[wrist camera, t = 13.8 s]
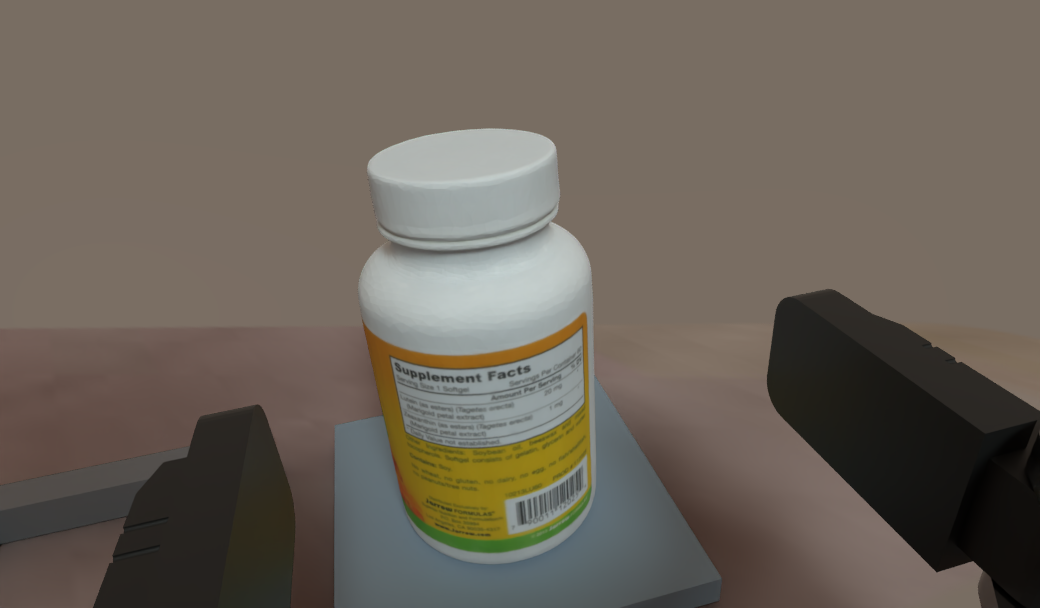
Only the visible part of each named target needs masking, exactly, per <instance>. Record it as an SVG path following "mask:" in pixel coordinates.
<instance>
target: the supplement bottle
mask: <svg viewBox="0 0 1040 608" xmlns="http://www.w3.org/2000/svg"><path fill="white" fill-rule="evenodd" d="M367 175H368V181H369V186H370V192H371V198H372V203H373V208H374V212H375V216H376V219H377V228H378V230H379V232H380V233H381V234H382V235H383V236H384V237H385V238H386V239H388V241H387V242H385V243H384V244H383V245H381V246H380V247H379V248H378V249H377V250H376V251H375V252H374V253H373V254H372V255H371V257H370V258H369V259H368V261H367V262H366V264H365V266H364V267H363V270H362V272H361V275H360V278H359V285H358V298H359V305H360V310H361V316H362V321H363V326H364V331H365V335H366V340H367V344H368V349H369V353H370V358H371V362H372V367H373V371H374V376H375V380H376V385H377V389H378V394H379V398H380V403H381V407H382V412H383V416H384V421H385V425H386V430H387V434H388V439H389V444H390V448H391V453H392V458H393V462H394V466H395V470H396V475H397V479H398V484H399V488H400V493H401V497H402V500H403V504H404V508H405V511H406V514H407V517H408V519H409V521H410V523H411V525H412V526H413V528H414V530H415V531H416V532H417V534H418V535H419V536H420V537H421V538H422V539H423V540H424V541H425V542H426V543H427V544H428V545H430V546H431V547H433V548H434V549H436V550H437V551H439V552H441V553H443V554H445V555H447V556H449V557H452V558H455V559H458V560H461V561H465V562H470V563H477V564H492V565H493V564H505V563H512V562H517V561H521V560H525V559H529V558H532V557H535V556H538V555H540V554H543V553H545V552H547V551H549V550H551V549H552V548H554V547H556V546H558V545H559V544H560V543H562V542H563V541H565V540H566V539H567V538H568V537H569V536H571V535H572V534H573V533H574V532H575V531H576V530H577V529H578V528H579V526H580V525H581V524H582V522H583V521H584V519H585V518H586V516H587V514H588V512H589V510H590V508H591V506H592V502H593V499H594V496H595V489H596V431H595V389H594V340H593V292H592V276H591V268H590V263H589V259H588V257H587V254H586V252H585V251H584V249H583V247H582V246H581V244H580V243H579V242H578V240H577V239H576V238H575V237H574V236H573V235H572V234H571V233H569V232H568V231H566V230H565V229H564V228H562V227H560V226H559V225H557V224H555V223H552V222H550V221H552V219H554V217H555V216H556V214H557V212H558V202H559V199H560V188H559V181H558V165H557V151H556V148H555V145H554V144H553V142H552V141H551V140H549V139H548V138H546V137H545V136H542V135H539V134H536V133H532V132H528V131H520V130H510V129H473V130H460V131H451V132H445V133H438V134H433V135H426V136H422V137H418V138H414V139H411V140H407V141H404V142H402V143H399V144H396V145H393V146H391V147H389V148H387V149H385V150H382V151H381V152H379V153H377V154H376V155H375V156H374V157H373V158H372V159H371V160H370V161H369V163H368V167H367Z"/></svg>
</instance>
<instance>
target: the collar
mask: <svg viewBox="0 0 1040 608" xmlns="http://www.w3.org/2000/svg"><path fill="white" fill-rule="evenodd" d="M189 448H190V446H188V447H183V448H178V449H174V450H169V451H164V452H159V453H154V454H149V455H145V456H140V457H135V458H130V459H125V460H120V461H116V462H111V463H106V464H101V465H96V466H91V467H87V468H82V469H77V470H72V471H67V472H62V473H58V474H53V475H48V476H43V477H38V478H33V479H29V480H24V481H19V482H14V483H9V484H4V485H0V545H1V544H3V543H8V542H12V541H17V540H21V539H26V538H30V537H35V536H39V535H44V534H48V533H53V532H57V531H62V530H66V529H71V528H75V527H80V526H85V525H89V524H94V523H98V522H103V521H107V520H112V519H116V518H121V517H125V516H128V513H129V511H130V508H131V505H132V503H133V500H134V497H135V495H136V493H137V492H138V491H139V490H140V488H141V487H142V486H143V485H144V484H145V483H146V482H147V480H148V479H149V478H150V477H151V476H152V475H153V473H154V472H155V471H156V470H157V469H158V468H159V467H160V465H161V464H162V463H163V462H166V461H171V460H176V459H180V458H185V457H187V455H188V451H189Z"/></svg>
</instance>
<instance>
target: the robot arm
mask: <svg viewBox="0 0 1040 608" xmlns="http://www.w3.org/2000/svg"><path fill="white" fill-rule="evenodd" d="M767 387H768V392H769V396H770V399H771V401H772V403H773V406H774V407H775V409H776V411H777V412H778V413H779V414H780V416H781V417H782V418H783V419H784V420H785V421H786V422H787V423H788V424H789V425H790V426H791V427H792V428H793V429H794V430H795V431H796V432H797V433H798V434H799V435H800V436H801V437H802V438H803V439H804V440H805V441H806V442H807V443H808V444H809V445H810V446H811V447H812V448H813V449H814V450H815V451H816V452H817V453H818V454H819V455H820V456H821V457H822V458H823V459H824V460H825V461H826V462H827V463H828V464H829V465H830V466H831V467H832V468H833V469H834V470H835V471H836V472H837V473H838V474H839V475H840V476H841V477H842V478H843V479H844V480H845V481H846V482H847V483H848V484H849V485H850V486H851V487H852V488H853V489H854V490H855V491H856V492H857V493H858V494H859V495H860V496H861V497H862V498H863V499H864V500H865V501H866V502H867V503H868V504H869V505H870V506H871V507H872V508H873V509H874V510H875V511H876V512H877V513H878V514H879V515H880V516H881V517H882V518H883V519H884V520H885V521H886V522H887V523H888V524H889V525H890V526H891V527H892V528H893V529H894V530H895V531H896V532H897V533H898V534H899V535H900V536H901V537H902V538H903V539H904V540H905V541H906V542H907V543H908V544H909V545H910V546H911V547H912V548H913V549H914V550H915V551H916V552H917V553H918V554H919V555H920V556H921V557H922V558H923V559H924V560H925V561H926V562H927V563H928V564H929V565H930V566H931V567H932V568H933V569H934V570H935V571H936V572H939V571H942V570H946V569H949V568H952V567H955V566H959V565H962V564H965V563H968V562H972V561H974V562H975V563H976V564H977V565H978V566H979V567H980V568H981V569H982V570H983V572H982V575H981V577H980V580H979V583H978V594H979V599H980V603H981V608H1040V411H1039V410H1037V409H1036V408H1034V407H1032V406H1031V405H1029V404H1028V403H1026V402H1024V401H1023V400H1021V399H1020V398H1018V397H1016V396H1015V395H1013V394H1012V393H1010V392H1009V391H1007V390H1005V389H1004V388H1002V387H1001V386H999V385H997V384H996V383H994V382H993V381H991V380H989V379H988V378H986V377H985V376H983V375H981V374H980V373H978V372H977V371H975V370H973V369H972V368H970V367H969V366H967V365H965V364H964V363H962V362H959V363H957V362H956V361H955V358H954V357H953V356H951V355H950V354H948V353H946V352H945V351H943V350H942V349H940V348H938V347H934V348H933V347H932V345H931V343H930V342H929V341H927V340H926V339H924V338H922V337H921V336H919V335H918V334H916V333H915V332H913V331H911V330H910V329H908V328H907V327H905V326H903V325H901V324H898V323H896V322H893V321H890V320H887V319H885V318H882V317H879V316H876V315H874V314H871V313H870V312H868V311H867V310H865V309H864V308H862V307H861V306H859V305H858V304H856V303H854V302H853V301H851V300H850V299H848V298H847V297H845V296H844V295H842V294H840V293H839V292H837V291H835V290H832V289H826V290H821V291H816V292H811V293H806V294H801V295H797V296H792V297H787V298H784V299H783V300H782V301H781V302H780V303H779V304H778V307H777V309H776V314H775V321H774V329H773V336H772V344H771V351H770V359H769V366H768V374H767ZM123 528H124V533H123V534H121V535H120V537H119V540H118V542H117V545H116V548H115V550H114V553H113V563H110V564H109V566H108V569H107V572H106V574H105V577H104V580H103V582H102V585H101V588H100V590H99V593H98V596H97V598H96V601H95V604H94V606H93V608H290V600H291V586H292V571H293V557H294V542H295V513H294V505H293V499H292V494H291V490H290V487H289V483H288V480H287V477H286V474H285V471H284V468H283V465H282V462H281V459H280V456H279V454H278V451H277V448H276V445H275V442H274V439H273V436H272V433H271V430H270V427H269V424H268V421H267V418H266V415H265V413H264V411H263V409H262V408H261V406H260V405H253V406H248V407H243V408H238V409H234V410H229V411H224V412H219V413H214V414H209V415H204V416H201V417H200V418H199V420H198V422H197V425H196V428H195V431H194V435H193V438H192V441H191V445H190V448H189V451H188V455H187V457H185V458H180V459H176V460H171V461H166V462H163V463H162V464H161V465H160V467H159V468H158V469H157V470H156V471H155V472H154V473H153V475H152V476H151V477H150V478H149V479H148V480H147V482H146V483H145V484H144V485H143V486H142V487H141V488H140V490H139V491H138V492H137V493H136V495H135V497H134V500H133V503H132V505H131V508H130V511H129V513H128V516H127V519H126V521H125V524H124V527H123Z"/></svg>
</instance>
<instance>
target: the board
mask: <svg viewBox="0 0 1040 608" xmlns="http://www.w3.org/2000/svg"><path fill="white" fill-rule="evenodd" d="M594 389H595V431H596V489H595V496H594V499H593V502H592V506H591V508H590V510H589V512H588V514H587V516H586V518H585V519H584V521H583V522H582V524H581V525H580V526H579V528H578V529H577V530H576V531H575V532H574V533H573V534H572V535H571V536H569V537H568V538H567V539H566V540H565V541H563V542H562V543H560V544H559V545H558V546H556V547H554V548H552V549H551V550H549V551H547V552H545V553H543V554H540V555H538V556H535V557H532V558H529V559H525V560H521V561H517V562H512V563H505V564H493V565H492V564H477V563H470V562H465V561H461V560H458V559H455V558H452V557H449V556H447V555H445V554H443V553H441V552H439V551H437V550H436V549H434V548H433V547H431V546H430V545H428V544H427V543H426V542H425V541H424V540H423V539H422V538H421V537H420V536H419V535H418V534H417V532H416V531H415V530H414V528H413V526H412V525H411V523H410V521H409V519H408V517H407V514H406V511H405V508H404V504H403V500H402V497H401V493H400V488H399V484H398V479H397V475H396V470H395V466H394V462H393V458H392V453H391V448H390V444H389V439H388V434H387V430H386V425H385V421H384V416H383V415H381V416H377V417H372V418H367V419H362V420H358V421H353V422H348V423H343V424H338V425H335V504H334V608H696V607H699V606H702V605H706V604H709V603H713V602H716V601H719V599H720V591H721V583H722V578H721V576H720V575H719V573H718V571H717V570H716V568H715V567H714V565H713V563H712V562H711V560H710V559H709V557H708V555H707V554H706V552H705V551H704V549H703V548H702V546H701V544H700V543H699V541H698V540H697V538H696V536H695V535H694V533H693V532H692V530H691V528H690V527H689V525H688V524H687V522H686V520H685V519H684V517H683V516H682V514H681V512H680V511H679V509H678V508H677V506H676V504H675V503H674V501H673V500H672V498H671V496H670V495H669V493H668V492H667V490H666V488H665V487H664V485H663V484H662V482H661V480H660V479H659V477H658V476H657V474H656V473H655V471H654V469H653V468H652V466H651V465H650V463H649V461H648V460H647V458H646V457H645V455H644V453H643V452H642V450H641V449H640V447H639V445H638V444H637V442H636V441H635V439H634V437H633V436H632V434H631V433H630V431H629V429H628V428H627V426H626V425H625V423H624V421H623V420H622V418H621V417H620V415H619V413H618V412H617V410H616V409H615V407H614V405H613V404H612V402H611V401H610V399H609V398H608V396H607V394H606V393H605V391H604V390H603V388H602V386H601V385H600V383H599V382H598V380H597V378H596V377H595V375H594Z"/></svg>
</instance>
